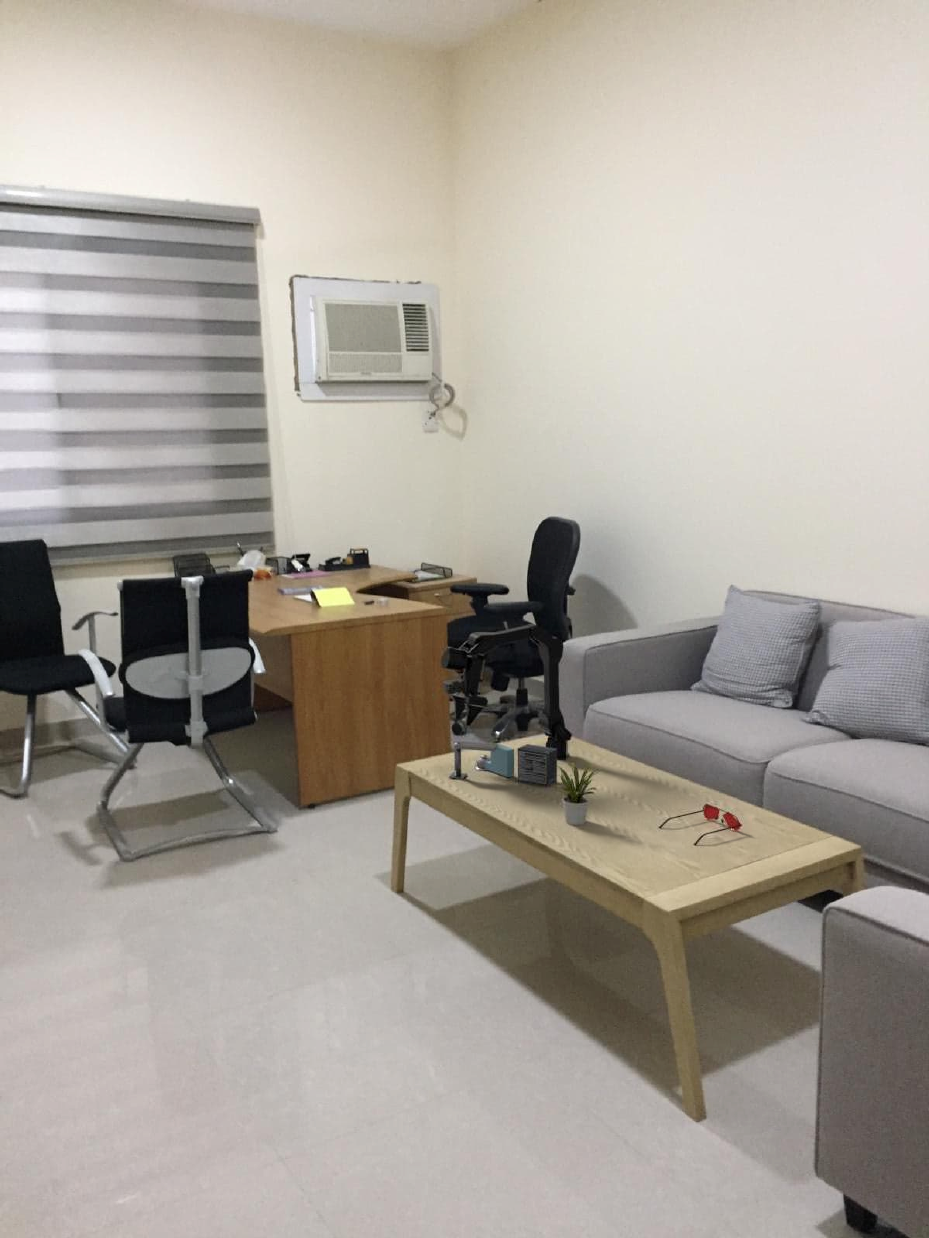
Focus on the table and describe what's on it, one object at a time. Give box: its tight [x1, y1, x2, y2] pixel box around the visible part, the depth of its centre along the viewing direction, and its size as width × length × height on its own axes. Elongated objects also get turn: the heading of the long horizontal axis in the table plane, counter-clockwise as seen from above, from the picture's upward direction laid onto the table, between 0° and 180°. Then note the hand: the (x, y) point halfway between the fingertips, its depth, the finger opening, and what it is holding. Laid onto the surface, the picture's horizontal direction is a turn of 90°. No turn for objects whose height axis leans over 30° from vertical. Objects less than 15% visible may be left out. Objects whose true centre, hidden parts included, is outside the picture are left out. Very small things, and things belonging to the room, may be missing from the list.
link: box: [476, 742, 515, 778], centre depth 311 cm, size 15×5×8 cm, turn 37°
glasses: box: [658, 803, 743, 846], centre depth 261 cm, size 14×16×5 cm
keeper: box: [448, 740, 499, 780], centre depth 305 cm, size 14×5×11 cm, turn 74°
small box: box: [517, 744, 558, 788], centre depth 301 cm, size 11×6×10 cm, turn 58°
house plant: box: [554, 761, 604, 826], centre depth 267 cm, size 14×14×16 cm
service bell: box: [473, 754, 488, 771], centre depth 316 cm, size 7×7×4 cm
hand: (462, 722), depth 311 cm, fingers open, 9 cm apart
